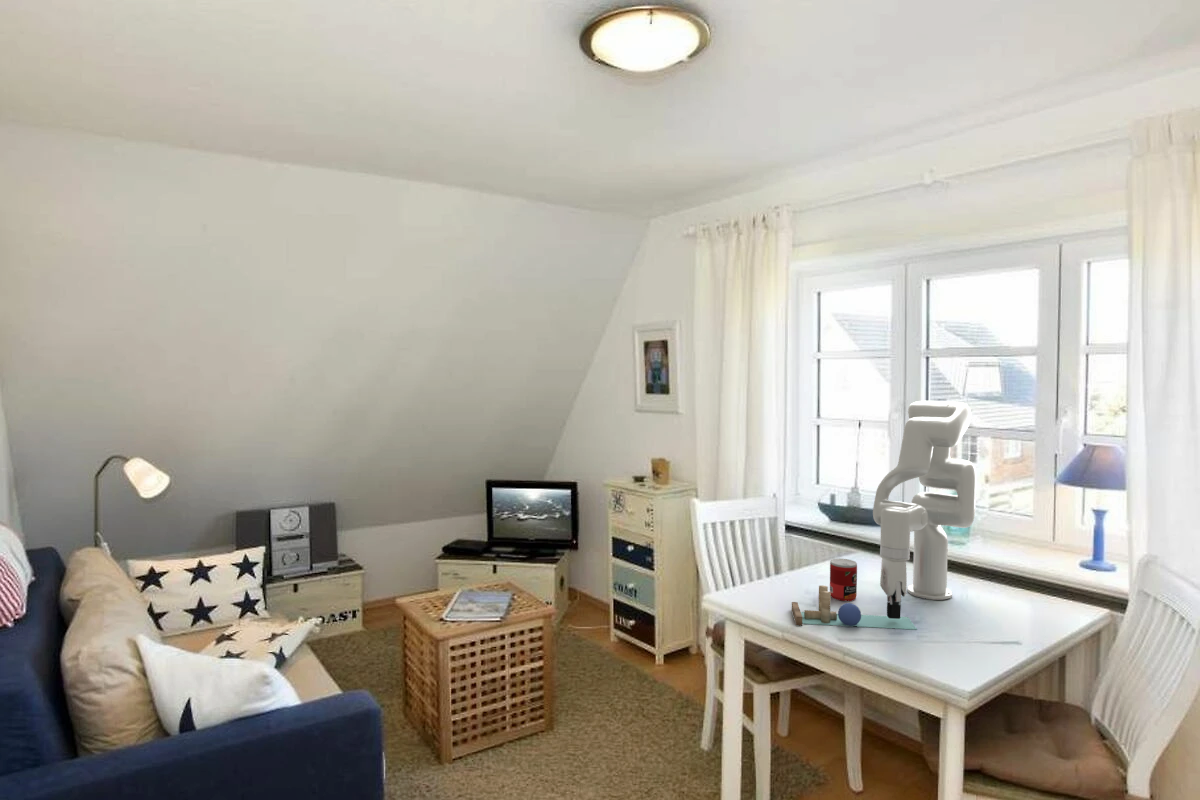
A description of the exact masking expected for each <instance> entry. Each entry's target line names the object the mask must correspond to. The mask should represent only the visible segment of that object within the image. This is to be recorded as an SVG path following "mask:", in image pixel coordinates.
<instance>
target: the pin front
mask: <svg viewBox="0 0 1200 800" xmlns="http://www.w3.org/2000/svg"><path fill="white" fill-rule="evenodd" d="M803 612H804V617H805V619H821V611H819V610H810V609H809V610H806V609H805V610H804V611H803ZM837 614H838V612H837V611H832V610H830V620H837Z"/></svg>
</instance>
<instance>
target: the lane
mask: <svg viewBox="0 0 1200 800" xmlns="http://www.w3.org/2000/svg"><path fill="white" fill-rule="evenodd" d="M801 614H802V625H814V624H816V625H817V624H818V625H817V626H833V625H837V626H838V625H840V626H838V627H849V626H848V625H845V624H844V623H842V622H841V621H840V619H839V616H838V613H837V620H830V623H822V622H821V619H805V617H804V611H801ZM854 626H857V627H856V628H872V627H873V628H875V629H877V628H879V629H892V628H895V629H894V630H896V629H897V630H911V631H912V630H915V631H917V630H918V628H917V627H916V626H915V624H914V623H913V622H912V621H911V619H910V617H909V616H900V619H892V618H888V616H887V615H876V614H875V615H871V614H861V619H860V621H859V623H857V624H856V625H854Z"/></svg>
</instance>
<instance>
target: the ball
mask: <svg viewBox="0 0 1200 800" xmlns="http://www.w3.org/2000/svg"><path fill="white" fill-rule="evenodd" d="M837 614H838V616H839V619H840V621H841V622H842V623H844V624H845V625H848V626H847V627H853V626H854V625H856V624H857V623H859V621H860V619H861V615H862V613H861V610H860V608H859V607H858V606H857V605H856V604H854V603H851V602H845V603H843V604H841V605H840V607H839V609H838V612H837Z"/></svg>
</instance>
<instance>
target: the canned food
mask: <svg viewBox="0 0 1200 800" xmlns="http://www.w3.org/2000/svg"><path fill="white" fill-rule="evenodd" d="M857 582H858V563H857V562H856V561H855V560H852V559H848V558H833V559H830V562H829V592H830V593H831V599H834V600H835V601H841V602H852V600H853V601H856V599H857V594H858V593H857V592H858V591H857V588H858V587H857V586H858V583H857Z"/></svg>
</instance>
